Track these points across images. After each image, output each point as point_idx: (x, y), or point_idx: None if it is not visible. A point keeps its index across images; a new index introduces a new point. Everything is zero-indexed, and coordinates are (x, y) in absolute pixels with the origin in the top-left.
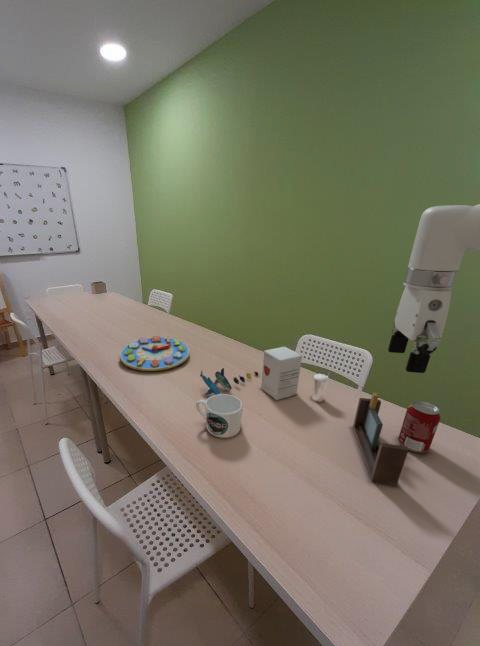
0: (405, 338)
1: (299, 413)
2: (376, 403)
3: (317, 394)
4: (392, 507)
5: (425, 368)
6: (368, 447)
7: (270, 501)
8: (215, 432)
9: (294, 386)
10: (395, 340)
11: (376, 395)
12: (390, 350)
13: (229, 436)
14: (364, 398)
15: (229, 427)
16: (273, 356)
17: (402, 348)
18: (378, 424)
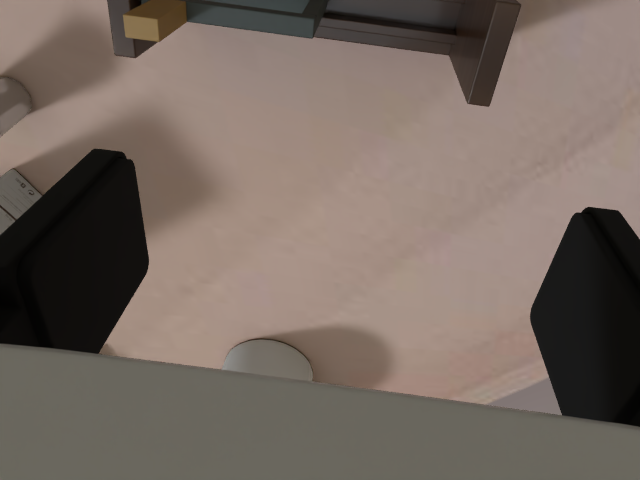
0: (48, 285)
1: (140, 182)
2: (175, 9)
3: (13, 120)
4: (567, 29)
5: (632, 238)
6: (331, 26)
7: (513, 307)
8: None
9: (3, 202)
10: (90, 339)
11: (154, 28)
12: (142, 273)
13: (308, 363)
14: (115, 33)
15: None
16: None
17: (116, 208)
18: (313, 36)
